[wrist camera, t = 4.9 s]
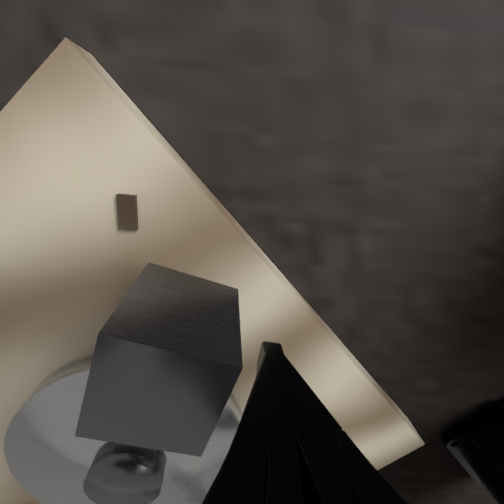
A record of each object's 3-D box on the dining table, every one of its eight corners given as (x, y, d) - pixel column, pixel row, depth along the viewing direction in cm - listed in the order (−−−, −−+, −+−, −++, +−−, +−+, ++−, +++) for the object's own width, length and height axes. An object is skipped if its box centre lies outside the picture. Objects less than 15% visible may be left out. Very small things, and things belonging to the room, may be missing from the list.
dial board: (408, 419, 17) (427, 447, 15) (175, 552, 20) (171, 586, 19) (91, 54, 9) (61, 34, 7) (-201, 375, 12) (-265, 408, 11)
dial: (208, 507, 15) (199, 649, 11) (15, 482, 13) (-87, 644, 9) (318, 298, 11) (377, 400, 7) (52, 215, 9) (-119, 282, 5)
